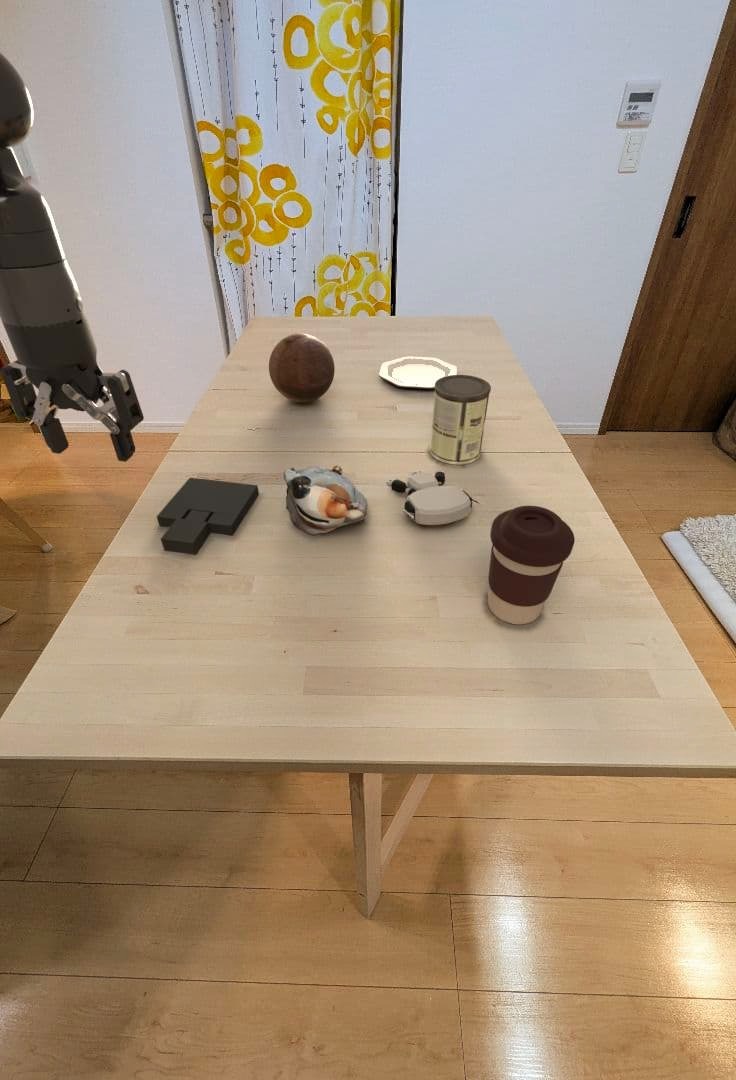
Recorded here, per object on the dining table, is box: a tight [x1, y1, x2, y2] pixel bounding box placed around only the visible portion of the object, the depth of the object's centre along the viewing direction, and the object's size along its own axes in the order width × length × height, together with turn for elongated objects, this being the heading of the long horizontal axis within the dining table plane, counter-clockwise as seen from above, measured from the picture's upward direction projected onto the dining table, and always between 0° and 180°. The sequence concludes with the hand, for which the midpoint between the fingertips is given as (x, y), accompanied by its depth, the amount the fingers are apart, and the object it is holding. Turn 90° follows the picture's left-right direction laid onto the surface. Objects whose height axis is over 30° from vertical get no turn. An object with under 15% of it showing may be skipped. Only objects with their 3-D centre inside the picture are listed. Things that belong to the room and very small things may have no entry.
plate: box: [378, 356, 458, 390], centre depth 134 cm, size 20×20×2 cm
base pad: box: [156, 477, 260, 536], centre depth 89 cm, size 13×12×2 cm
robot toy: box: [385, 470, 483, 526], centre depth 89 cm, size 12×4×15 cm
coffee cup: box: [487, 505, 576, 625], centre depth 67 cm, size 10×10×15 cm
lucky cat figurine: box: [282, 465, 368, 536], centre depth 83 cm, size 15×12×14 cm
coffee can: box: [429, 374, 492, 466], centre depth 100 cm, size 10×10×14 cm
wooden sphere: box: [268, 333, 336, 403], centre depth 119 cm, size 15×15×15 cm
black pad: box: [160, 510, 212, 556], centre depth 83 cm, size 5×8×2 cm, turn 169°
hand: (93, 454), depth 62 cm, fingers open, 8 cm apart
